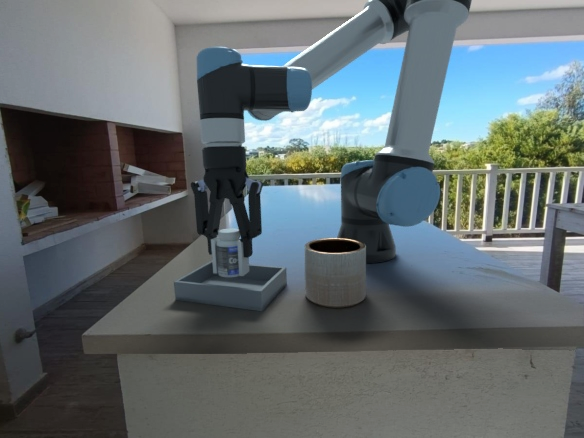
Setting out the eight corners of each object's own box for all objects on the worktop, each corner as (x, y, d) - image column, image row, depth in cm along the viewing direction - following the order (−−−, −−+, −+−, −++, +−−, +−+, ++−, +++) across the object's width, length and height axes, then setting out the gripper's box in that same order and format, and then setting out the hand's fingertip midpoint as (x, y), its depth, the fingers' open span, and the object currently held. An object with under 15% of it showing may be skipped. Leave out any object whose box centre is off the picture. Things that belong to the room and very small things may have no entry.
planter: (363, 312, 54) (364, 255, 52) (298, 306, 57) (297, 252, 55) (367, 287, 64) (368, 238, 62) (312, 282, 67) (311, 236, 65)
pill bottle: (232, 279, 60) (229, 234, 58) (213, 275, 62) (210, 231, 61) (249, 272, 64) (247, 228, 62) (230, 268, 66) (228, 226, 65)
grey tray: (286, 284, 67) (286, 267, 66) (262, 311, 55) (261, 291, 55) (211, 276, 72) (210, 261, 72) (175, 299, 61) (173, 281, 60)
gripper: (278, 144, 60) (282, 269, 64) (193, 147, 65) (202, 262, 69) (261, 143, 53) (267, 284, 57) (167, 146, 58) (179, 274, 63)
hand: (231, 272), depth 63 cm, fingers closed on pill bottle, 5 cm apart
